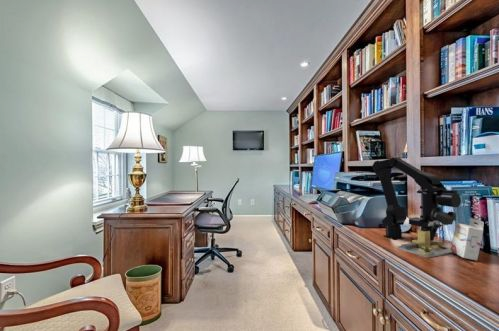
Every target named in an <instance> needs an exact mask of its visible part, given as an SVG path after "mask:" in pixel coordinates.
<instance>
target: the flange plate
mask: <svg viewBox="0 0 499 331" xmlns="http://www.w3.org/2000/svg"><path fill="white" fill-rule="evenodd" d="M442 246H445V245H443V244H442ZM430 247H431V248H433V249H432V250H431V249H428V248H427V249H424V248H421V247H414V248H408V249H404V248H401V246H400V245H399V246H397V249H400V250H402V251H405V252H408V253H411V254H414V255H416V256H420V257H423V258H425V259H428V258H434V257H435V258H436V257H441V256H446V255H451V254H452V255H453V254H455V253H454V252H452V251H451V246H447V245H446V246H445V248H442V247H435V246H432V245H430Z"/></svg>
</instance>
